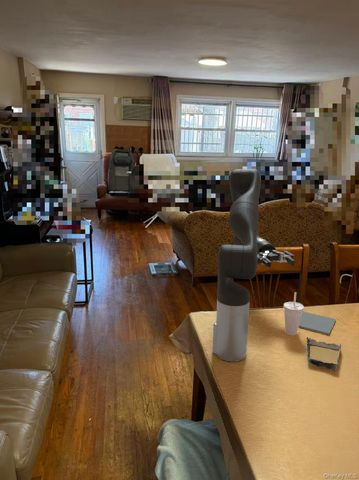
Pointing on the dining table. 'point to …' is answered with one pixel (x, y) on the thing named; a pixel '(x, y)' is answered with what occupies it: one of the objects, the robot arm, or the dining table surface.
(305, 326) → the mat
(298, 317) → the smoothie
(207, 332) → the dining table surface
